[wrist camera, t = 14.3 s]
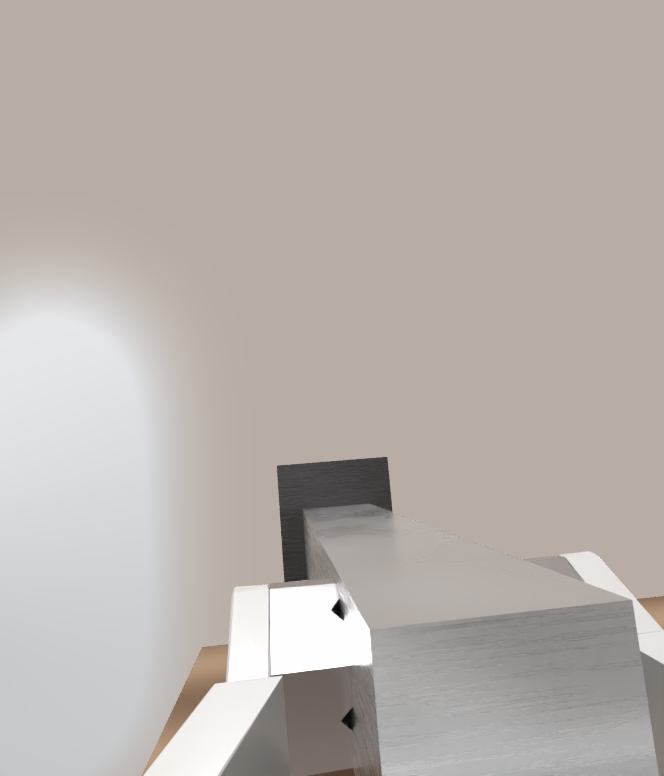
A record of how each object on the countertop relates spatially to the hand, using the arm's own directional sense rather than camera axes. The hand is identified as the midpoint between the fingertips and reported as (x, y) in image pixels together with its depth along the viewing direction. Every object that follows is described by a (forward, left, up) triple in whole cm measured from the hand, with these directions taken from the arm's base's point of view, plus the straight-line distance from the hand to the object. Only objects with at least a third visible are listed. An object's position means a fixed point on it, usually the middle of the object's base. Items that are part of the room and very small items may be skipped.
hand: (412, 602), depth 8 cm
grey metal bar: (+5, -4, -2) cm, 7 cm away
